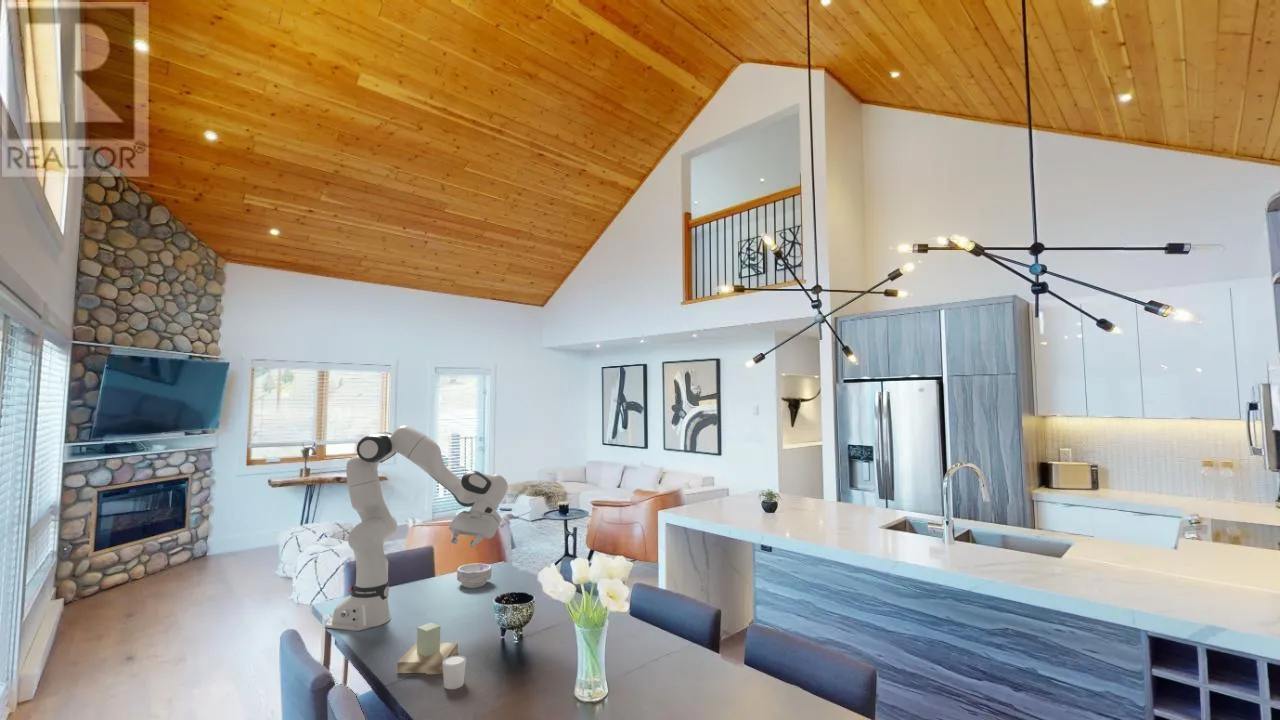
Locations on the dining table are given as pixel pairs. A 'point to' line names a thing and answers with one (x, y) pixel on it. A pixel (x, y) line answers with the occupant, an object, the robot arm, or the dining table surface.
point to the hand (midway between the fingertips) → (462, 544)
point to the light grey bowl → (474, 575)
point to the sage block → (428, 639)
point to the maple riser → (426, 660)
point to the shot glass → (454, 671)
